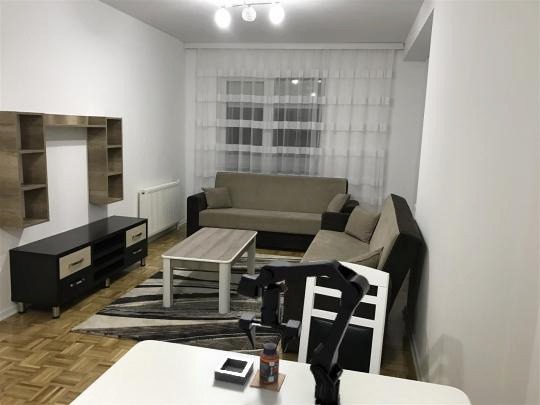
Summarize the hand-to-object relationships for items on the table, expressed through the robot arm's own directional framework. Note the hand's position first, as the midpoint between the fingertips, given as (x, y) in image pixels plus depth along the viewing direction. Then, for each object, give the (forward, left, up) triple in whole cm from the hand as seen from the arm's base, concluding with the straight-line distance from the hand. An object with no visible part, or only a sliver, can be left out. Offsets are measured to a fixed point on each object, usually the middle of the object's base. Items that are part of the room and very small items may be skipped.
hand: (268, 350), depth 138 cm
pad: (0, 0, -10) cm, 10 cm away
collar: (+11, 0, -10) cm, 15 cm away
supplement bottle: (0, 0, -10) cm, 10 cm away
